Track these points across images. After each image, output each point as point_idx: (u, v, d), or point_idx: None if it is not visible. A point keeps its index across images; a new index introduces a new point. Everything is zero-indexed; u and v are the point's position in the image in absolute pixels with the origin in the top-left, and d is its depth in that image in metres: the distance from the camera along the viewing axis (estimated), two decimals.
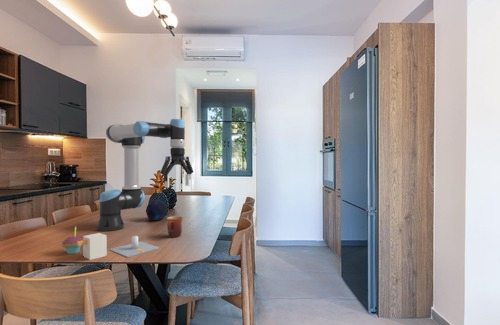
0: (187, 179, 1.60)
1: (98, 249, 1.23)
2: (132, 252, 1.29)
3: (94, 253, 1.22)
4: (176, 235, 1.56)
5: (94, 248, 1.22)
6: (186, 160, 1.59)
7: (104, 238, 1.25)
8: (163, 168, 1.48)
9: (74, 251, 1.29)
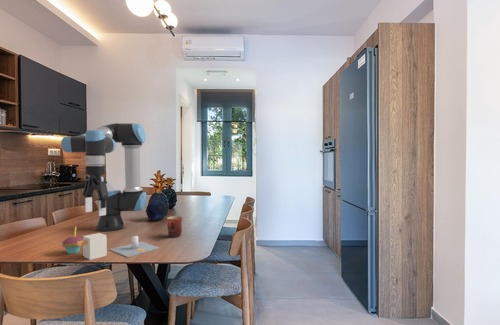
0: None
1: (98, 249, 1.23)
2: (132, 252, 1.29)
3: (94, 253, 1.22)
4: (176, 235, 1.56)
5: (94, 248, 1.22)
6: None
7: (104, 238, 1.25)
8: None
9: (74, 251, 1.29)
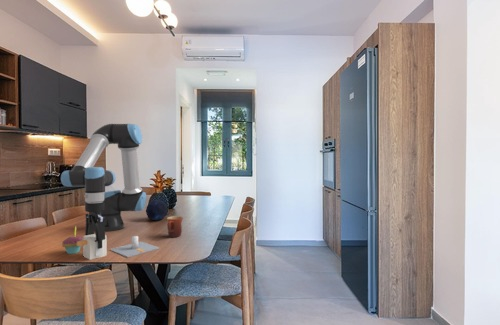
0: None
1: None
2: (132, 252, 1.29)
3: (94, 253, 1.22)
4: (176, 235, 1.56)
5: (94, 248, 1.22)
6: None
7: None
8: None
9: (74, 251, 1.29)
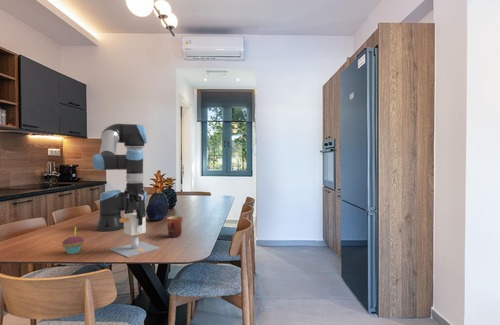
0: None
1: None
2: (132, 252, 1.29)
3: (135, 229, 1.31)
4: (176, 235, 1.56)
5: (135, 225, 1.31)
6: None
7: None
8: None
9: (74, 251, 1.29)
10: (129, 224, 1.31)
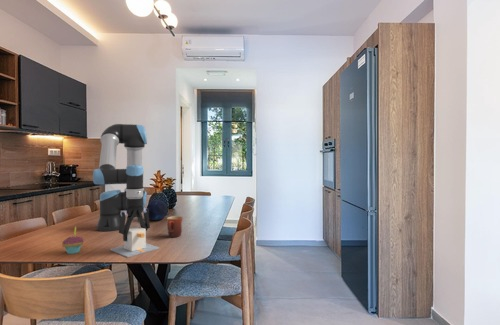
0: None
1: None
2: (132, 252, 1.29)
3: None
4: (176, 235, 1.56)
5: None
6: (145, 212, 1.39)
7: None
8: (120, 227, 1.29)
9: (74, 251, 1.29)
10: (141, 238, 1.34)
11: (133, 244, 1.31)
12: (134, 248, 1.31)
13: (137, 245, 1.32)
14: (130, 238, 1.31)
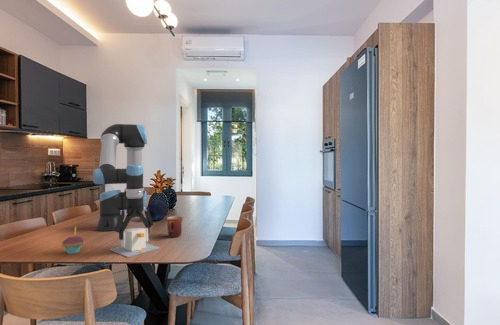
0: None
1: None
2: (132, 252, 1.29)
3: None
4: (176, 235, 1.56)
5: None
6: (146, 211, 1.39)
7: None
8: (117, 225, 1.28)
9: (74, 251, 1.29)
10: (141, 238, 1.34)
11: (133, 244, 1.31)
12: (134, 248, 1.31)
13: (137, 245, 1.32)
14: (130, 238, 1.31)
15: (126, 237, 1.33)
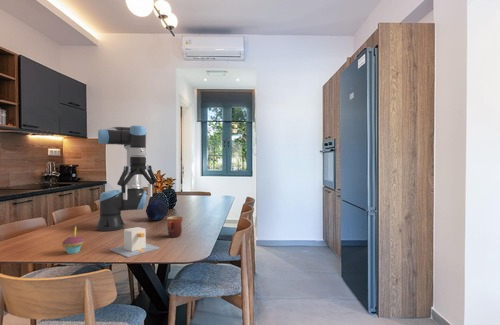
0: (149, 189, 1.50)
1: None
2: (132, 252, 1.29)
3: None
4: (176, 235, 1.56)
5: None
6: (148, 169, 1.49)
7: None
8: (120, 179, 1.38)
9: (74, 251, 1.29)
10: (141, 238, 1.34)
11: (133, 244, 1.31)
12: (134, 248, 1.31)
13: (137, 245, 1.32)
14: (130, 238, 1.31)
15: (126, 237, 1.33)
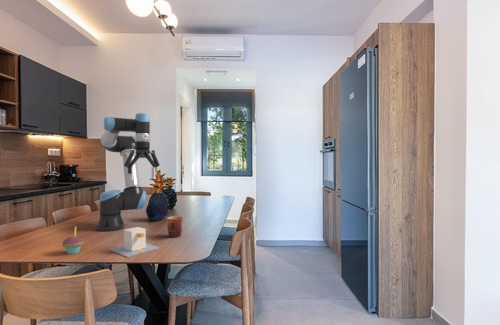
0: (153, 172, 1.64)
1: None
2: (132, 252, 1.29)
3: None
4: (176, 235, 1.56)
5: None
6: (152, 153, 1.64)
7: None
8: (127, 161, 1.52)
9: (74, 251, 1.29)
10: (141, 238, 1.34)
11: (133, 244, 1.31)
12: (134, 248, 1.31)
13: (137, 245, 1.32)
14: (130, 238, 1.31)
15: (126, 237, 1.33)
